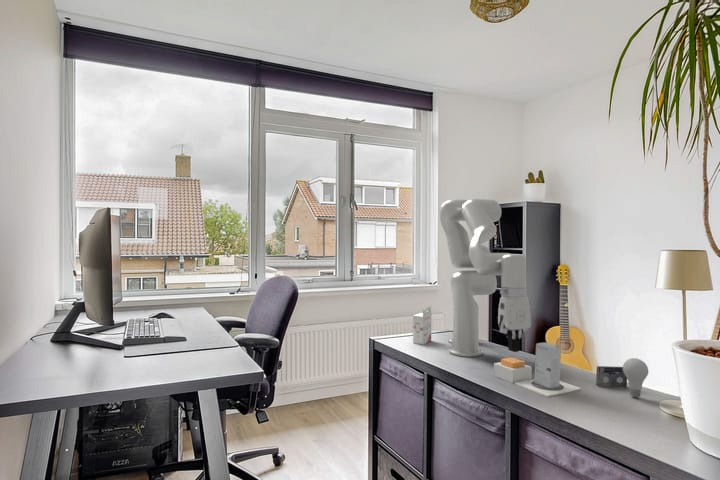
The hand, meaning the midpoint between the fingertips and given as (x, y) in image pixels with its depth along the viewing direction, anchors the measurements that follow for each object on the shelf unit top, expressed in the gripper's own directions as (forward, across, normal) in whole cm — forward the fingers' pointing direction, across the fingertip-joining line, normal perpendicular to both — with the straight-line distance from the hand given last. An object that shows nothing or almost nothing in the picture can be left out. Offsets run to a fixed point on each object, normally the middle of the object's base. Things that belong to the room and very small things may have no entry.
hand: (513, 350), depth 142 cm
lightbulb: (+10, +18, -27) cm, 34 cm away
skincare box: (+9, +3, -10) cm, 14 cm away
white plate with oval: (+9, +3, -10) cm, 14 cm away
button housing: (+9, 0, +1) cm, 9 cm away
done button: (+6, 0, +1) cm, 6 cm away
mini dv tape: (+9, +21, -18) cm, 29 cm away
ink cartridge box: (+8, +1, +53) cm, 53 cm away
